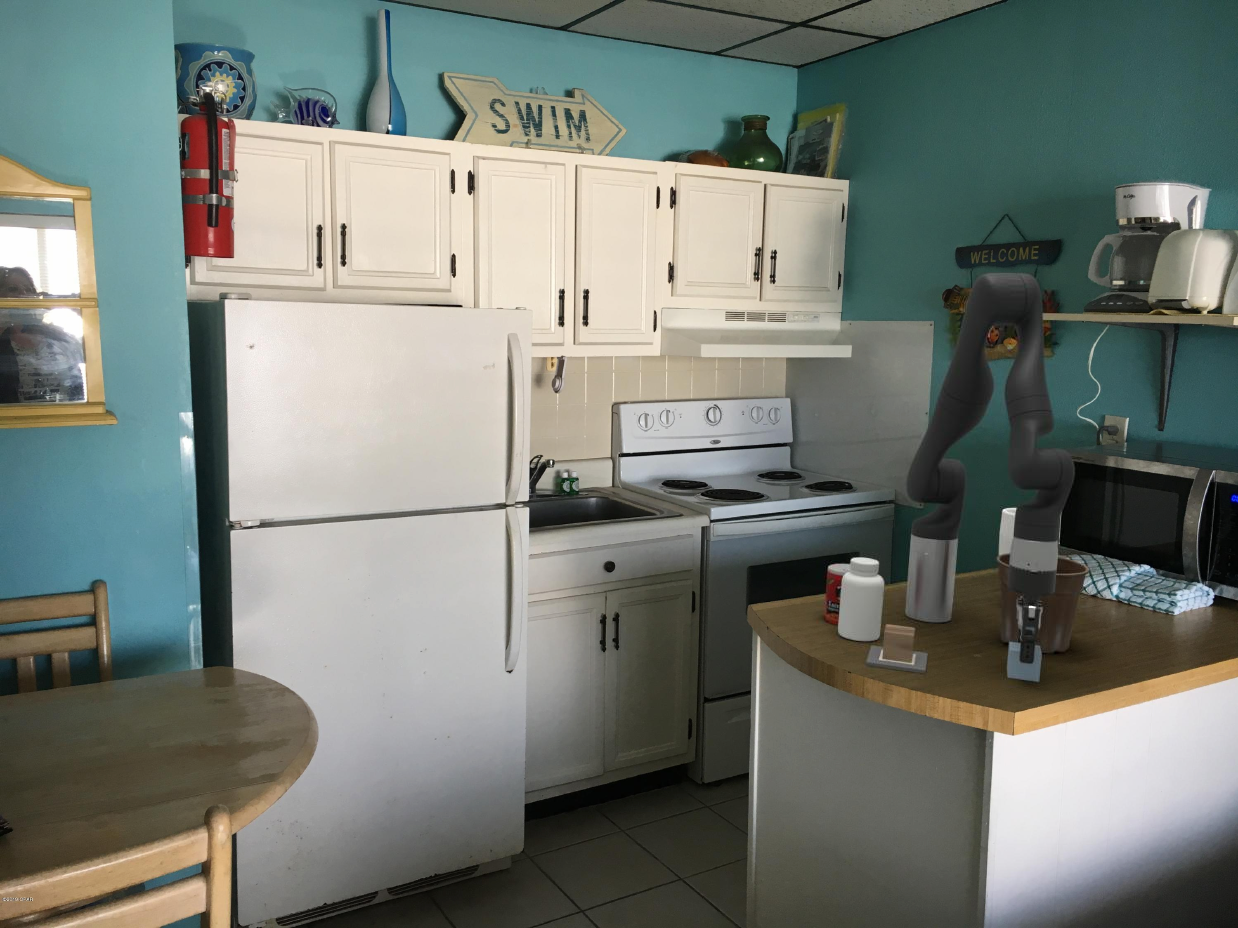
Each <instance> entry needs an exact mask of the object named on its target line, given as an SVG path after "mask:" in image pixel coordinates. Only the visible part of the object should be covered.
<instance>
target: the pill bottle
mask: <svg viewBox="0 0 1238 928" xmlns="http://www.w3.org/2000/svg"><path fill="white" fill-rule="evenodd" d="M849 564H850V570H851V571H850V572H847V573H846V574H844V576H843V578H842V586H841V598H840V611H839V623H838V625H837V626H838V627H837V633H838V635H839V636H841V637H843V638H845V639H848V640H851V641H857V642H872V641H876V640H878V639H879V638H880V635H881V628H882V627H881V624H882V615H883V603H884V592H885V580H884V578H883V576H881V575H880V574H878V573H879V567H880V562H879V561H878V560H877V559H875V558H874V559H873V558H871V557H870V558H868V557H852V558H851V559H850V563H849Z"/></svg>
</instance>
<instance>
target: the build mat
mask: <svg viewBox="0 0 1238 928" xmlns="http://www.w3.org/2000/svg"><path fill="white" fill-rule="evenodd" d="M882 656H883V646H880V645H879V646H877V645H870V650H869V652H868V655H867V658H866V661H865V666H867V667H868V666H869V667H875V668H882V669H888V670H889V669H890V670H896V671H903V672H911V673H916V674H924V675H925V674H926V669H927V663H928V656H929V655H928V652H922V651H914V650H913V657H912V663H907V662H900V661H893V660H886V659H882Z"/></svg>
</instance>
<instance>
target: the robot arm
mask: <svg viewBox="0 0 1238 928" xmlns="http://www.w3.org/2000/svg"><path fill="white" fill-rule="evenodd" d="M1042 299H1043V297H1042V292H1041V288H1040V285H1039V282H1038V281H1037V279H1036V278H1035V277H1034V276H1033V275H1031V274H1029V273H1021V272H1020V273H1019V272H993V273H992V272H991V273H990V272H988V273H984V274H981V275H980V276H978V278H977V279H976V280H975V281H974V283H973V285H972V287H971V289H970V292H969V295H968V297H967V302H966V306H965V310H964V313H963V318H962V322H961V326H960V330H959V334H958V338H957V342H956V345H955V349H954V352H953V355H952V357H951V361H950V363H949V366H948V369H947V371H946V375H945V377H944V379H943V382H942V384H941V388H940V391H939V393H938V396H937V399H936V402H935V406H934V409H933V413H932V415H931V418H930V421H929V424H928V426H927V429H926V431H925V434H924V435H923V438H922V441H921V442H920V444H919V447H918V448H917V451H916V453H915V454H914V457H913V459H912V461H911V464H910V466H909V469H908V472H907V476H906V483H905V486H906V487H905V488H906V493H907V495H908V498H909V499H910V500H911V501H912V502H915V503H918V504H931V505H932V504H933V505H935V504H937V507H935V509H934V510H933V511H931V512H929V513H927V514H926V515H924V516H920V517H917V518H915V519H914V520H913V521H912V524H911V531H910V532H911V535H910V543H909V544H910V548H909V559H908V560H909V561H908V575H907V585H906V594H905V595H906V597H905V599H906V600H905V609H904V610H905V611H904V615H905V616H907V617H908V618H910V619H912V620H916V621H920V622H928V623H946V622H950V621H951V620H952V613H953V612H952V611H953V601H954V592H955V591H954V590H955V580H956V579H955V578H956V567H957V557H958V556H957V553H958V552H957V551H958V542H959V541H958V540H959V531H960V529H961V525H962V519H963V512H964V511H963V510H964V504H965V500H966V499H965V498H966V492H967V491H966V490H967V471H966V468H965V466H964V464H963V462H961V460H958V459H954V458H944V457H945V455H946V453H948V451H949V450H950V449H951V448H952V447H953V446H955V444H957V443H958V442H959V441H961V440H962V439H963V438H965V437H966V436H967V435H968V434H969V433H971V432H972V431H973V430H974V429H975V428H976V427H977V426H978V425H979V424H980V423H981V422H982V420H983V418H984V417H985V415H986V412H987V409H988V407H989V405H990V403H991V400H992V398H993V394H994V390H995V381H994V376H993V373H992V370H991V367H990V365H989V361H988V358H987V355H986V346H987V340H988V337H989V335H990V331H991V330H992V328H993V327H995V326H1014V328H1015V331H1016V334H1017V352H1016V355H1015V358H1014V360H1013V363H1012V365H1011V368H1010V369H1009V373H1008V376H1007V378H1006V381H1005V385H1004V402H1005V406H1006V413H1007V417H1008V423H1009V425H1010V426H1009V427H1010V432H1009V433H1010V434H1009V444H1008V454H1007V464H1006V465H1007V472H1008V476H1009V478H1010V480H1011V481H1012V483H1013V484H1014V485H1015V486H1016V487H1017V488H1019V489H1021V490H1026V491H1037V492H1036V494H1035V496H1034V498H1033V499H1031V500H1029V501H1026V502H1023V503H1021V504H1018V506H1017V507H1016V508H1017V509H1016V512H1015V521H1014V533H1013V541H1012V545H1011V551H1010V562H1009V574H1008V588H1009V589H1010V590H1012V591H1014V592H1017V593H1020V599H1017V619H1018V628H1019V631H1018V643H1021V646H1020V658H1019V660H1020V662H1021V663H1027V664H1032V663H1033V662H1034V652H1035V643H1036V642H1037V640H1038V630H1039V629H1040V621H1041V615H1042V609H1043V605H1042V601H1038V598H1039V596H1041V595H1044V596H1047V595H1051V594H1053V593H1054V592H1055V582H1056V571H1057V560H1058V557H1059V548H1058V547H1059V545H1058V544H1059V543H1058V540H1059V539H1058V538H1059V531H1060V530H1059V529H1060V517H1061V515H1062V513H1063V511H1064V507H1065V505H1066V502H1067V499H1068V497H1069V495H1070V492H1071V490H1072V487H1073V484H1074V480H1075V475H1076V472H1075V470H1076V467H1075V463H1074V460H1073V458H1072V456H1071V455H1070V453H1069V452H1068V451H1067V450H1064V449H1062V448H1056V447H1055V448H1054V447H1053V448H1050V447H1049V448H1040V447H1039V448H1038V446H1037V443H1038V438H1041V437H1043V436H1047V435H1049V434H1050V433H1051V432H1052V431H1053V430H1054V427H1055V419H1054V414H1053V408H1052V404H1051V399H1050V394H1049V389H1048V384H1047V377H1046V370H1045V340H1044V339H1045V337H1044V335H1045V333H1044V332H1045V331H1044V315H1043V314H1044V311H1043V309H1044V308H1043V300H1042ZM1032 630H1033V634H1032Z"/></svg>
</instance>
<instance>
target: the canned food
mask: <svg viewBox="0 0 1238 928" xmlns="http://www.w3.org/2000/svg"><path fill="white" fill-rule="evenodd" d="M850 571H851V570H850V563H834V564H830V565H828V566H827V573H826V589H825V604H824V606H825V607H824V617H825V620H826V622H827V623H830V624H832V625H836V626H838V623H839V611H840V598H841V586H842V578H843V576H844V574H846V573H847V572H850Z"/></svg>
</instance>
